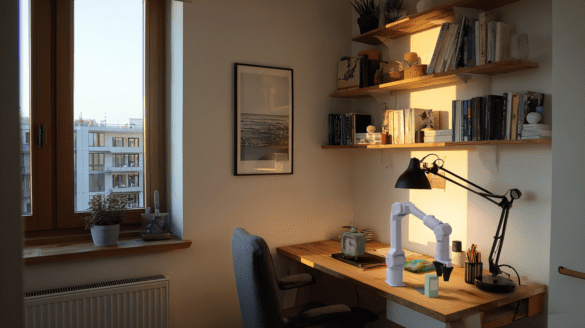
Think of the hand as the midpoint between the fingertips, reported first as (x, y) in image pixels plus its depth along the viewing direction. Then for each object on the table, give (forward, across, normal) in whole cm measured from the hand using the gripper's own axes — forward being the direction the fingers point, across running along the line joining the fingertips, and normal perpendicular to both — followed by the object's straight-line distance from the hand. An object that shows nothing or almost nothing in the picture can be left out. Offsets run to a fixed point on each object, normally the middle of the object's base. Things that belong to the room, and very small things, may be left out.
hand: (442, 278), depth 193 cm
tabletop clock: (+9, +76, +26) cm, 80 cm away
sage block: (+10, +7, +2) cm, 13 cm away
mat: (+10, +15, +3) cm, 18 cm away
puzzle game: (+10, +53, -7) cm, 54 cm away
